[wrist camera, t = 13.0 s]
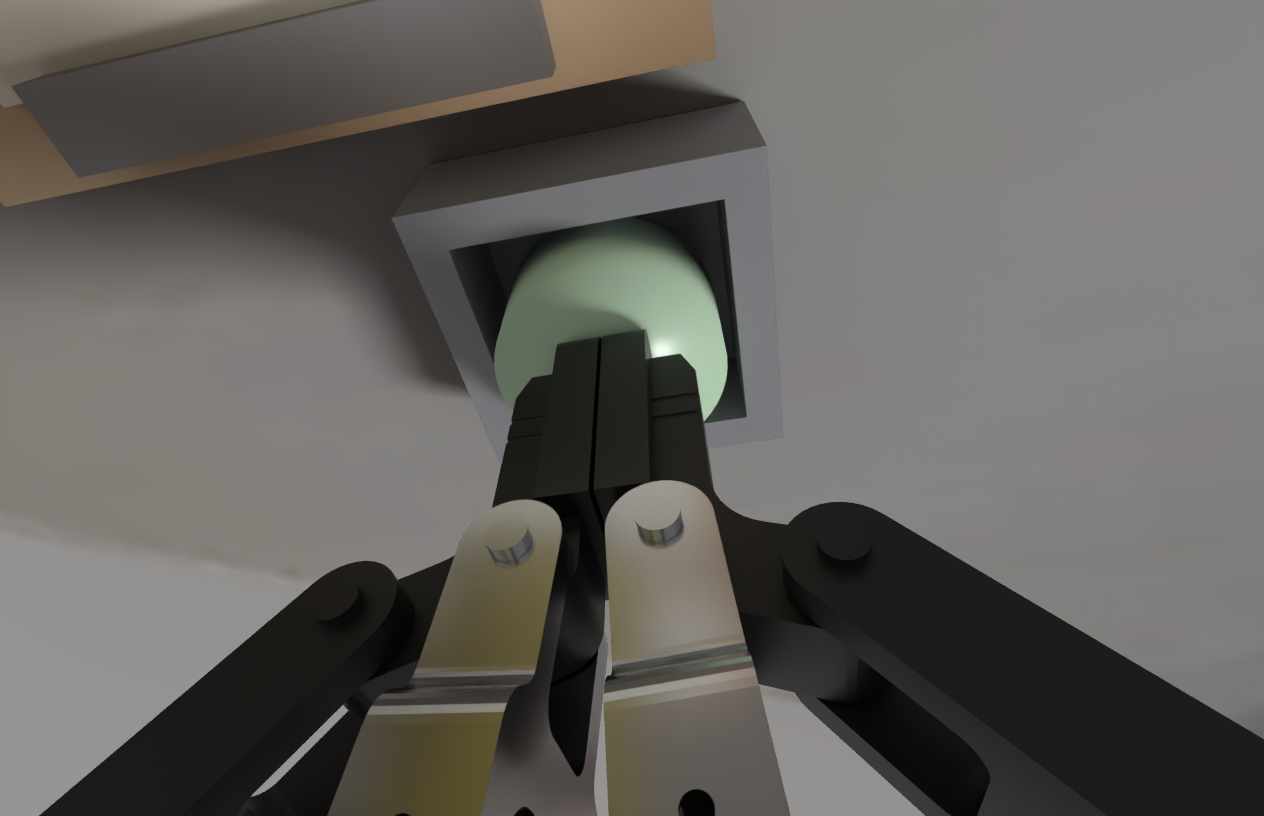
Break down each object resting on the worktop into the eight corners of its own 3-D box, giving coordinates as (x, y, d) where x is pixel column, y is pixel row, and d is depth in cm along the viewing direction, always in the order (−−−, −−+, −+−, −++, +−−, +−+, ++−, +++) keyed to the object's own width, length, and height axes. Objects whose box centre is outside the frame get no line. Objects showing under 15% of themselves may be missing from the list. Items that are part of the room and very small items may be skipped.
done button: (481, 237, 12) (459, 292, 10) (702, 196, 11) (714, 247, 10) (542, 406, 14) (532, 471, 13) (724, 378, 14) (737, 441, 12)
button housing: (428, 164, 12) (391, 218, 10) (743, 101, 12) (766, 145, 10) (520, 404, 16) (506, 476, 14) (763, 367, 15) (783, 437, 13)
